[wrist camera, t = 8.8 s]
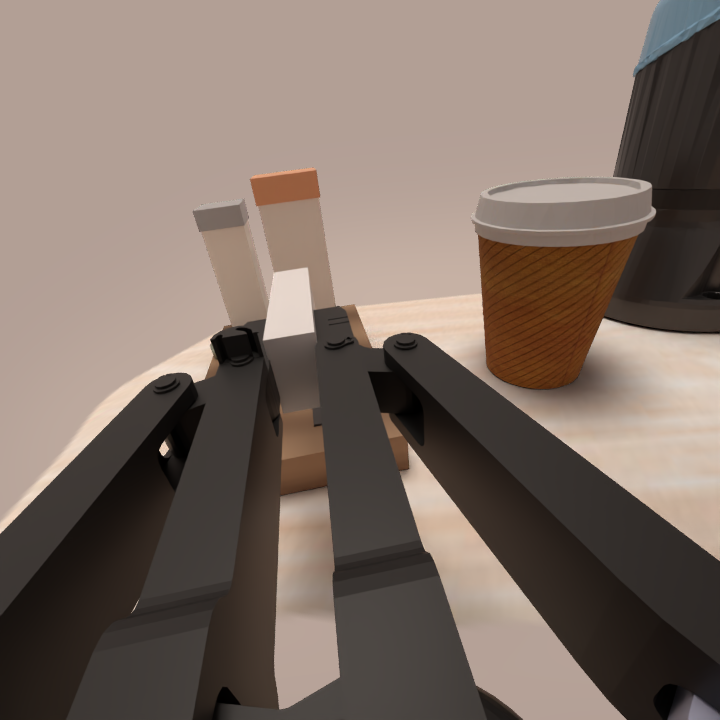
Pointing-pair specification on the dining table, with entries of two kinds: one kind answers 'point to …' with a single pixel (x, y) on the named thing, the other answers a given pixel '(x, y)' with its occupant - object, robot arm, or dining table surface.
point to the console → (318, 433)
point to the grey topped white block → (234, 259)
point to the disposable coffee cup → (553, 269)
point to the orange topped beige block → (295, 227)
